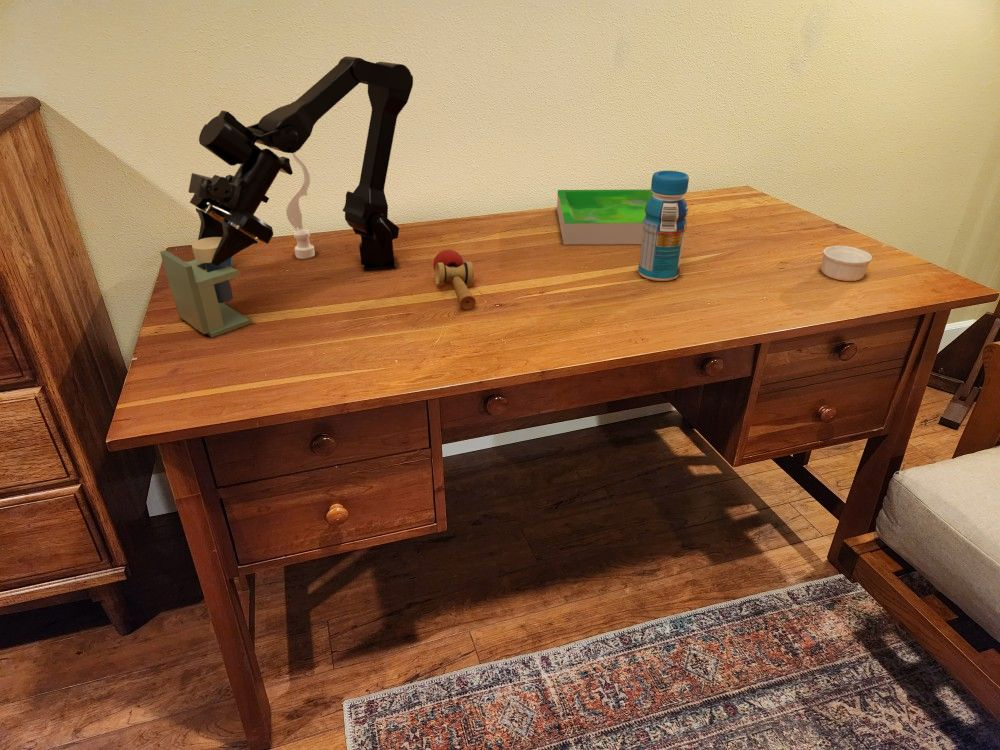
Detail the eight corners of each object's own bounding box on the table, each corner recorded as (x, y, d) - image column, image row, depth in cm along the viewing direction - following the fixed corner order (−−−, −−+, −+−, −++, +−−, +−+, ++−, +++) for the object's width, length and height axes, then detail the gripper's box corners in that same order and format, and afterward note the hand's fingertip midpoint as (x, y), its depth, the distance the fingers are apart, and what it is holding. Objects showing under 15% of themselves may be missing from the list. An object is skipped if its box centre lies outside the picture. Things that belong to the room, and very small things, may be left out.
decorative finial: (294, 259, 144) (273, 139, 131) (293, 253, 147) (272, 134, 134) (322, 256, 145) (304, 136, 132) (320, 249, 149) (302, 132, 136)
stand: (221, 305, 125) (205, 238, 118) (251, 323, 118) (235, 254, 112) (178, 319, 120) (158, 250, 113) (206, 339, 113) (187, 268, 107)
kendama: (492, 312, 124) (466, 264, 138) (486, 284, 120) (460, 237, 133) (452, 324, 123) (430, 275, 137) (445, 296, 119) (423, 248, 132)
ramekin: (875, 276, 134) (882, 256, 131) (847, 286, 130) (853, 265, 128) (836, 262, 140) (841, 242, 138) (808, 271, 136) (813, 250, 134)
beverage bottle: (629, 274, 135) (639, 175, 125) (651, 263, 141) (663, 166, 130) (665, 286, 131) (679, 183, 120) (687, 273, 136) (702, 174, 125)
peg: (242, 291, 122) (230, 235, 116) (238, 304, 117) (225, 247, 112) (209, 294, 121) (194, 238, 115) (204, 307, 116) (188, 250, 111)
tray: (675, 244, 150) (678, 222, 147) (563, 244, 150) (564, 222, 148) (654, 208, 171) (657, 189, 169) (556, 209, 172) (557, 189, 169)
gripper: (187, 144, 114) (140, 223, 113) (240, 163, 103) (188, 250, 102) (240, 181, 123) (196, 254, 122) (294, 202, 112) (247, 283, 111)
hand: (205, 259), depth 114 cm, fingers closed on peg, 6 cm apart
